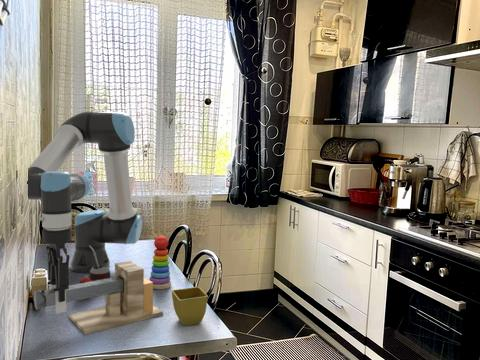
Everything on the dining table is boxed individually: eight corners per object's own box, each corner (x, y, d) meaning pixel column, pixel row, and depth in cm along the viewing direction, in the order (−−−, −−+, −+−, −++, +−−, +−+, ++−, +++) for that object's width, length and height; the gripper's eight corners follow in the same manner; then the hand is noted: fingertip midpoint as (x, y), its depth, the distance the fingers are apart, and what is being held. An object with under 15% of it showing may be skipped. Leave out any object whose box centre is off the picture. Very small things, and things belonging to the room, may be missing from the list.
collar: (131, 303, 144) (131, 276, 143) (140, 301, 146) (140, 274, 145) (143, 312, 137) (143, 284, 136) (152, 310, 139) (152, 282, 138)
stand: (69, 317, 134) (68, 269, 133) (143, 300, 149) (143, 256, 147) (85, 334, 123) (84, 282, 122) (162, 314, 138) (163, 267, 136)
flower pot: (178, 330, 128) (179, 300, 127) (170, 318, 136) (171, 289, 135) (207, 325, 131) (208, 296, 130) (198, 314, 139) (198, 286, 138)
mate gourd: (108, 292, 156) (108, 250, 154) (85, 292, 155) (84, 250, 153) (112, 284, 163) (111, 244, 162) (89, 285, 162) (89, 245, 161)
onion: (77, 303, 145) (77, 279, 145) (75, 297, 150) (75, 274, 150) (96, 300, 148) (96, 277, 147) (93, 294, 153) (93, 272, 152)
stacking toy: (166, 291, 158) (166, 239, 156) (145, 289, 160) (145, 238, 158) (174, 284, 166) (174, 234, 164) (154, 282, 167) (154, 233, 165)
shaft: (33, 306, 123) (33, 288, 123) (129, 286, 140) (129, 271, 140) (38, 312, 120) (37, 294, 119) (136, 291, 137) (135, 275, 136)
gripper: (34, 223, 127) (37, 303, 129) (51, 235, 114) (53, 323, 116) (62, 220, 131) (63, 297, 134) (80, 231, 118) (82, 316, 121)
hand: (58, 309), depth 125 cm, fingers closed on shaft, 3 cm apart
